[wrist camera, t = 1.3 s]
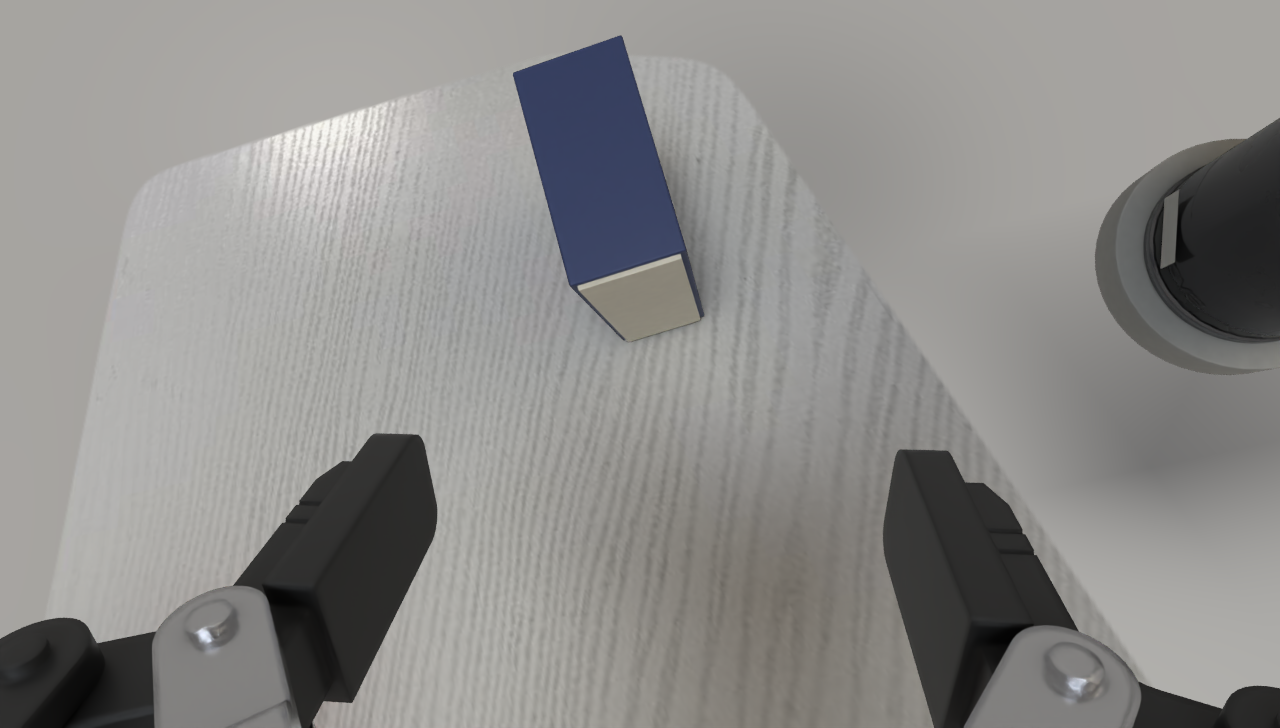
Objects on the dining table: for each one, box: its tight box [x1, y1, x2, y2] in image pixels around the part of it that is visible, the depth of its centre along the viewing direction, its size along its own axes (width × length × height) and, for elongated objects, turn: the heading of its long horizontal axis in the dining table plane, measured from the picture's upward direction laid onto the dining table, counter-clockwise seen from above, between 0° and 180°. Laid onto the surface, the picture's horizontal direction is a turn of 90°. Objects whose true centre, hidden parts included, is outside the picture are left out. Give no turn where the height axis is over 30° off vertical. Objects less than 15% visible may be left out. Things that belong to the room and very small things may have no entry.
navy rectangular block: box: [513, 36, 704, 342], centre depth 33 cm, size 4×9×12 cm, turn 16°
